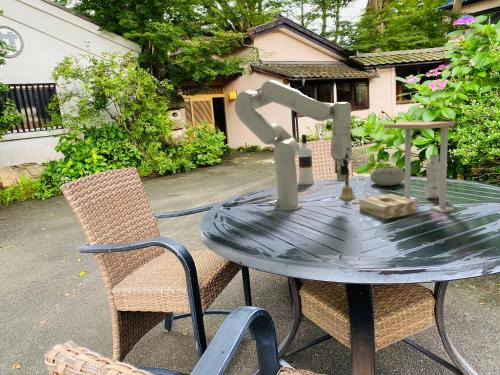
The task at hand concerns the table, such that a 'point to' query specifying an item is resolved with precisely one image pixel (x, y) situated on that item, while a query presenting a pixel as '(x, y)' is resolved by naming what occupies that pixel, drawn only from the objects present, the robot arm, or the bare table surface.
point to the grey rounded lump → (387, 176)
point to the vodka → (305, 164)
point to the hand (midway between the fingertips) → (341, 173)
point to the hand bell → (347, 190)
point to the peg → (340, 177)
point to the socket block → (388, 206)
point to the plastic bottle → (433, 177)
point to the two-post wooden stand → (443, 158)
